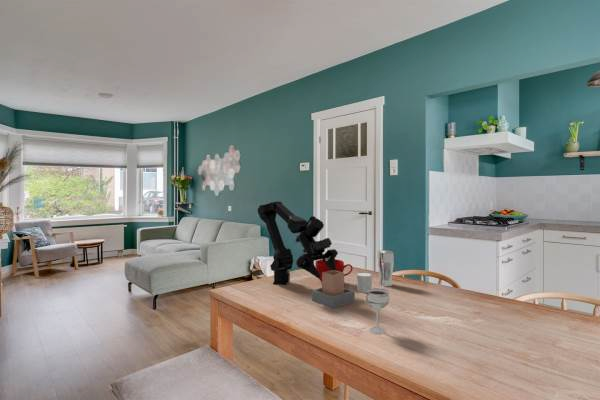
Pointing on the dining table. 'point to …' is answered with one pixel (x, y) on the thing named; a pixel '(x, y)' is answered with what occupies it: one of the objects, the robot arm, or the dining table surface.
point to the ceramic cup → (323, 268)
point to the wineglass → (377, 304)
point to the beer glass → (385, 267)
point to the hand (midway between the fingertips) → (327, 275)
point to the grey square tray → (333, 298)
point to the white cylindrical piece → (364, 281)
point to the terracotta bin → (333, 283)
